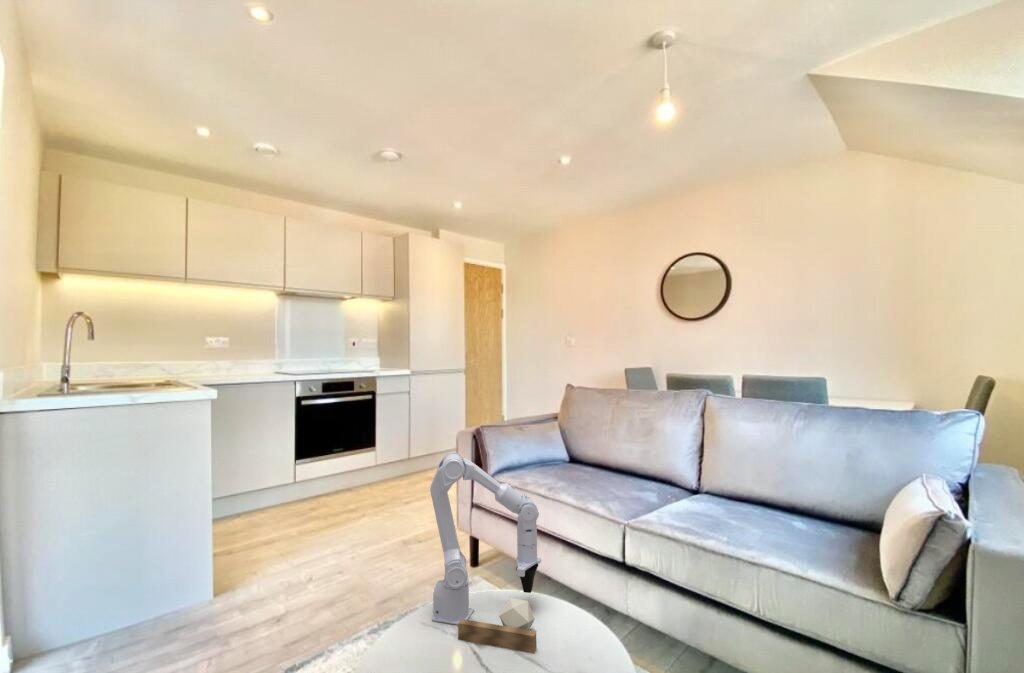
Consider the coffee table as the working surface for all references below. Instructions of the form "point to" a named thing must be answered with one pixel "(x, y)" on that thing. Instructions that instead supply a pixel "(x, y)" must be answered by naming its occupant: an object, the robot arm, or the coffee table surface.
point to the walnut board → (497, 635)
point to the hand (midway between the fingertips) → (527, 591)
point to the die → (517, 614)
